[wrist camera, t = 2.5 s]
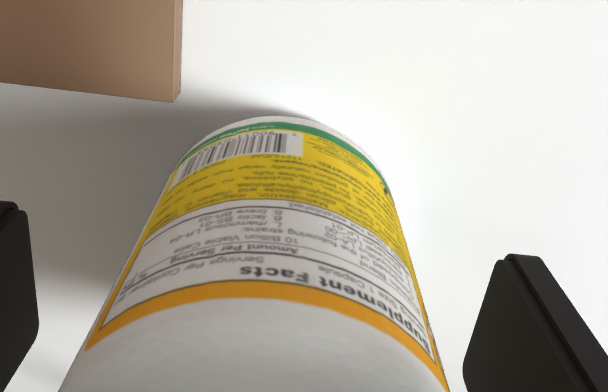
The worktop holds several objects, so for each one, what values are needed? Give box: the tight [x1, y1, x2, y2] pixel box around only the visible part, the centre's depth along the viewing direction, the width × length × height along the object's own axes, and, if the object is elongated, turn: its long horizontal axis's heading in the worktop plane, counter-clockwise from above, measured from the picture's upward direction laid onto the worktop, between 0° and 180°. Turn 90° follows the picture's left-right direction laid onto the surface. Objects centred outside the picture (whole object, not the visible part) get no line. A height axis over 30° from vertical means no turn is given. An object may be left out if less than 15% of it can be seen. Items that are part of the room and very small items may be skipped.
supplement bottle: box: [58, 116, 450, 392], centre depth 10 cm, size 6×6×10 cm
